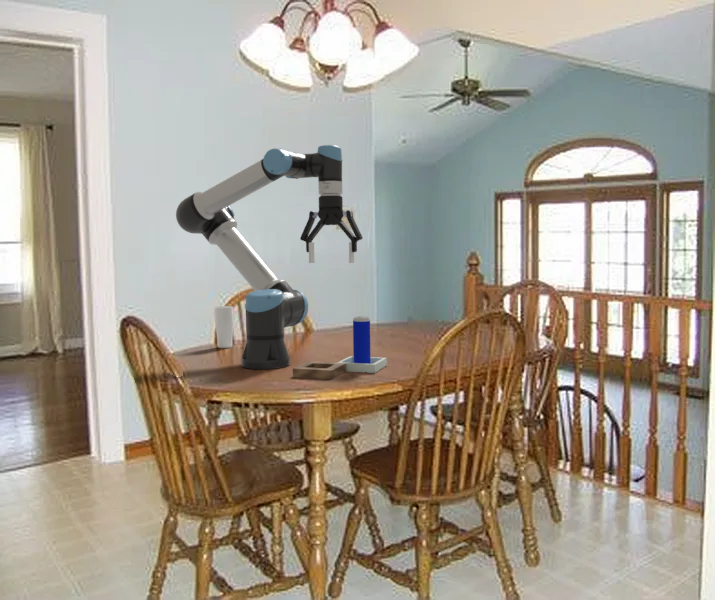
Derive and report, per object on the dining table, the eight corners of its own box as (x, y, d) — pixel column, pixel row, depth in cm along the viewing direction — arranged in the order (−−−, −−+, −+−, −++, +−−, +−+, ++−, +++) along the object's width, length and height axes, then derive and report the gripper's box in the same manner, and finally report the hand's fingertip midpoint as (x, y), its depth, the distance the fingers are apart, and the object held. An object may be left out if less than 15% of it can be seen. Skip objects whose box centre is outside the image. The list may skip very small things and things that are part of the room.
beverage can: (373, 366, 211) (373, 317, 210) (360, 368, 208) (359, 318, 207) (363, 364, 215) (363, 316, 214) (350, 366, 212) (349, 317, 211)
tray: (336, 370, 208) (336, 362, 208) (350, 364, 220) (350, 356, 219) (375, 373, 204) (375, 364, 204) (386, 365, 216) (386, 357, 215)
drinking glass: (214, 346, 259) (213, 306, 257) (232, 345, 261) (231, 305, 259) (216, 349, 252) (215, 308, 251) (235, 348, 254) (234, 307, 253)
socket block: (292, 377, 200) (292, 368, 200) (309, 369, 211) (308, 361, 211) (331, 379, 196) (331, 370, 196) (346, 371, 207) (346, 363, 207)
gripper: (289, 196, 220) (290, 263, 222) (364, 193, 212) (365, 263, 214) (299, 197, 228) (300, 262, 229) (371, 194, 219) (372, 262, 221)
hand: (331, 262), depth 222 cm, fingers open, 13 cm apart
